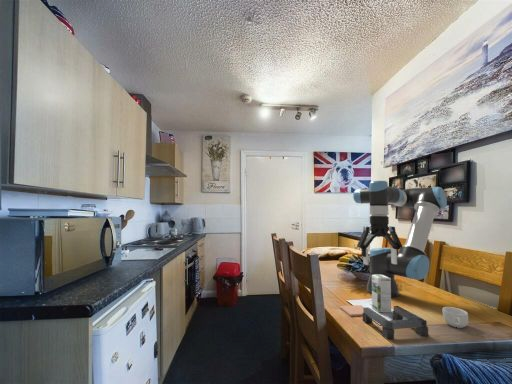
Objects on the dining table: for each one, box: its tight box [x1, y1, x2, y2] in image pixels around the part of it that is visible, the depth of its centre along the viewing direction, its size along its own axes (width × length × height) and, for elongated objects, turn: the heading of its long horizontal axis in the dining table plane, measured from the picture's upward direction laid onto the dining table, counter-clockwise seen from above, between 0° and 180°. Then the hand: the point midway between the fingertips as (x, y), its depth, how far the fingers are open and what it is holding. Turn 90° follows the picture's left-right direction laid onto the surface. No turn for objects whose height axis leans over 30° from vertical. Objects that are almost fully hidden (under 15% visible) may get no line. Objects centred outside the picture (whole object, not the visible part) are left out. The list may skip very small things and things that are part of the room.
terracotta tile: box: [339, 304, 365, 317], centre depth 108 cm, size 10×9×1 cm
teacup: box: [441, 306, 469, 329], centre depth 95 cm, size 10×8×5 cm
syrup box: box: [371, 274, 392, 313], centre depth 110 cm, size 6×6×14 cm
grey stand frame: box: [362, 305, 429, 340], centre depth 93 cm, size 16×14×5 cm
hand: (380, 264), depth 111 cm, fingers open, 13 cm apart
